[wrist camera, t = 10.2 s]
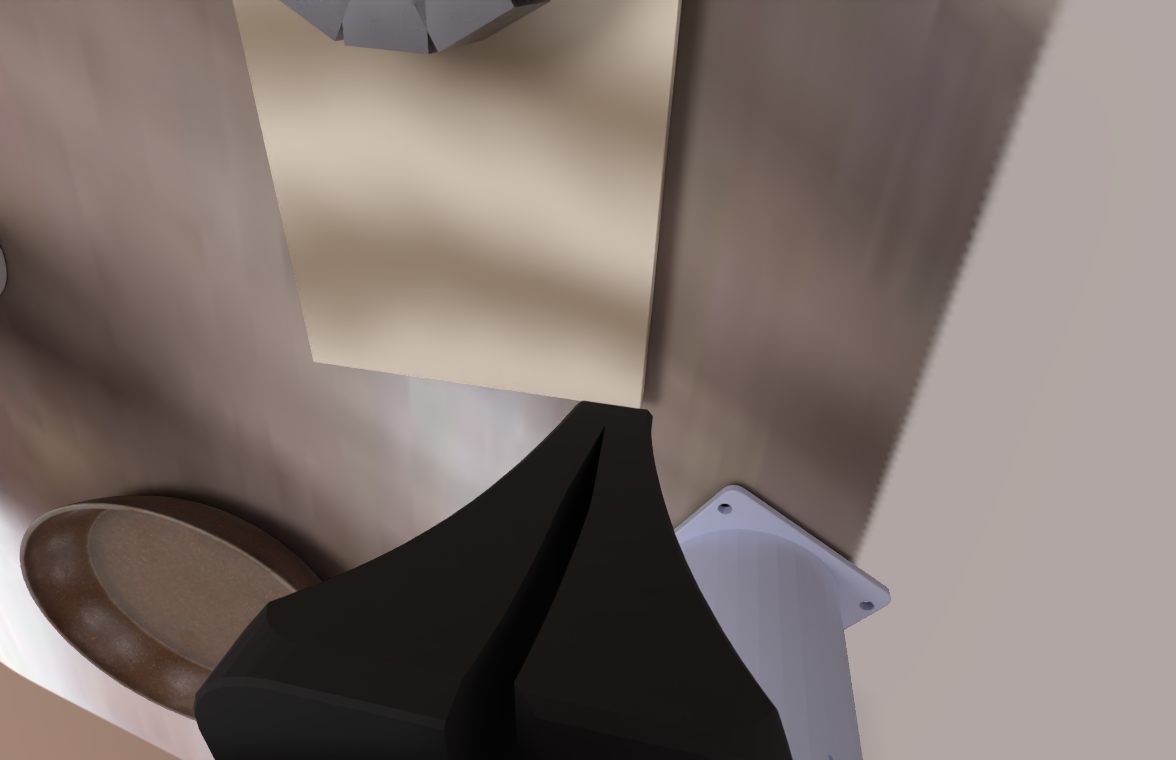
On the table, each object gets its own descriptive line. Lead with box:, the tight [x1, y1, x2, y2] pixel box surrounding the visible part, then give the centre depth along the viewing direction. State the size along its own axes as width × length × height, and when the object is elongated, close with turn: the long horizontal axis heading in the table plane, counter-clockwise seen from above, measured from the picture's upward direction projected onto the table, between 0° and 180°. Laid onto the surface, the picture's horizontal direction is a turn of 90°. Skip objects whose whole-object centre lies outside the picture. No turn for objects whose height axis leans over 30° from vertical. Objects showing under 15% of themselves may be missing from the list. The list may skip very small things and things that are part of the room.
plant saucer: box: [20, 496, 322, 721], centre depth 34 cm, size 18×18×3 cm
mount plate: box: [233, 0, 682, 409], centre depth 18 cm, size 20×12×1 cm, turn 178°
